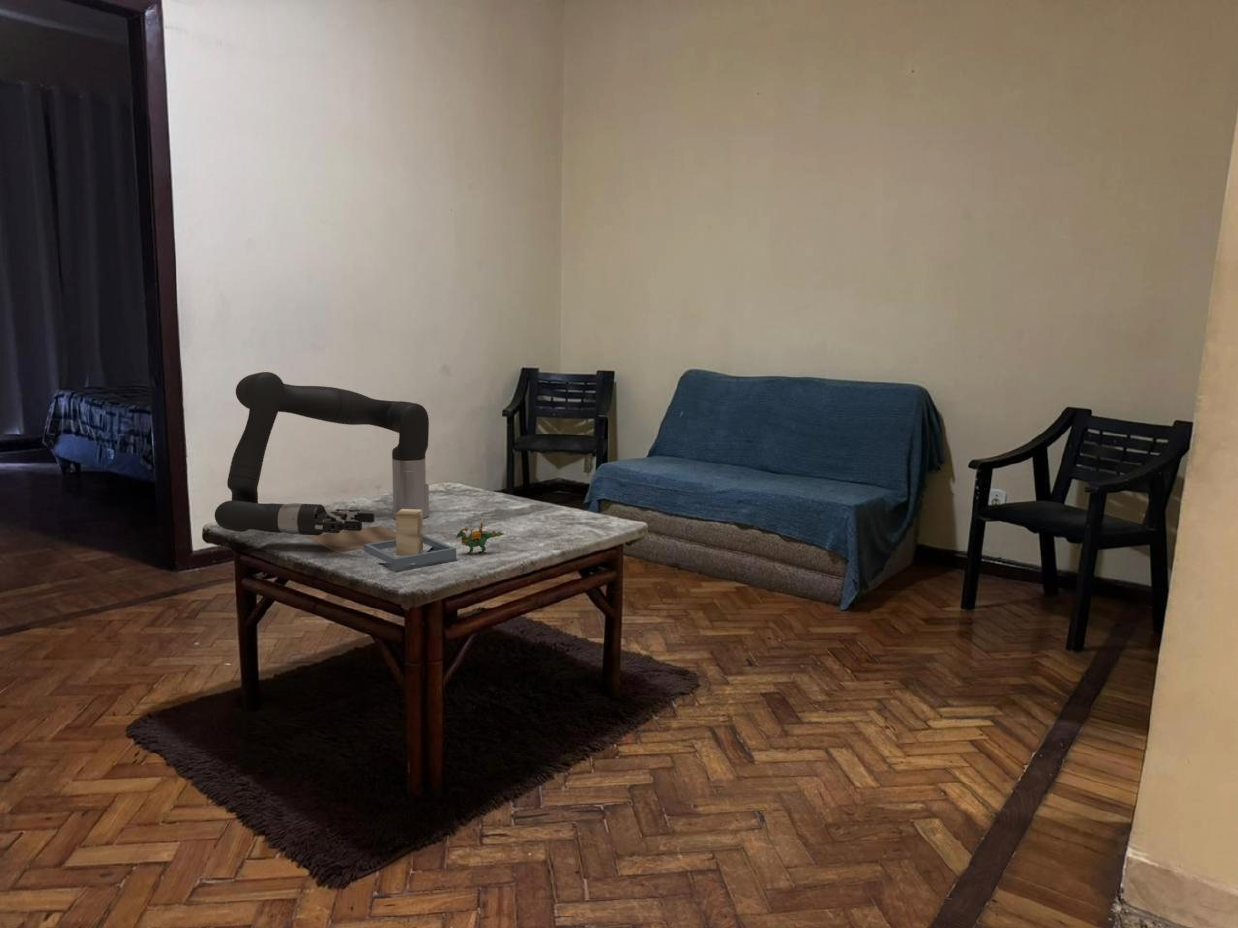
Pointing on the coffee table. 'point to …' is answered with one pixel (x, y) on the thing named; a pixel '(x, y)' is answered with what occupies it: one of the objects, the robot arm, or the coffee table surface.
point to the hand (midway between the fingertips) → (368, 521)
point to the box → (431, 557)
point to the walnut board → (354, 538)
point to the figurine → (476, 538)
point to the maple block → (409, 532)
